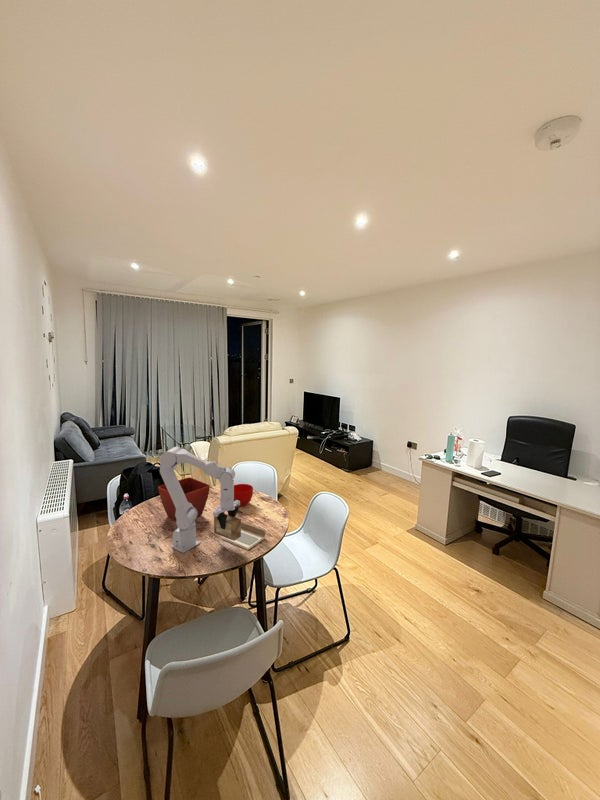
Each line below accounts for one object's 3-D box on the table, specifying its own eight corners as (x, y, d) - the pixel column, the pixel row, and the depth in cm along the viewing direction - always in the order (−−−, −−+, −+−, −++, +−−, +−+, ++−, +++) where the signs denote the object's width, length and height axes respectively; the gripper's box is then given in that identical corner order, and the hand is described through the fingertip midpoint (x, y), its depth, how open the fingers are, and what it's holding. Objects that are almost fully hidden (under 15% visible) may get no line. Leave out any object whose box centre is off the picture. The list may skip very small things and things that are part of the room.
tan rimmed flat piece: (248, 550, 141) (248, 541, 140) (221, 539, 149) (221, 530, 149) (265, 538, 151) (265, 529, 151) (239, 528, 159) (239, 520, 159)
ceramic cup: (222, 501, 190) (222, 485, 189) (251, 499, 195) (251, 483, 194) (223, 511, 178) (223, 493, 177) (254, 508, 182) (254, 491, 181)
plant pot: (178, 529, 157) (178, 496, 155) (157, 517, 168) (157, 486, 166) (210, 515, 172) (210, 485, 170) (189, 505, 183) (189, 476, 181)
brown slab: (233, 541, 137) (233, 523, 137) (213, 533, 144) (213, 516, 143) (240, 536, 141) (240, 519, 141) (221, 529, 148) (221, 512, 147)
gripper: (221, 504, 133) (221, 535, 134) (245, 493, 145) (244, 522, 146) (209, 500, 136) (209, 530, 138) (233, 489, 149) (233, 517, 150)
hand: (227, 526), depth 142 cm, fingers closed on brown slab, 4 cm apart
